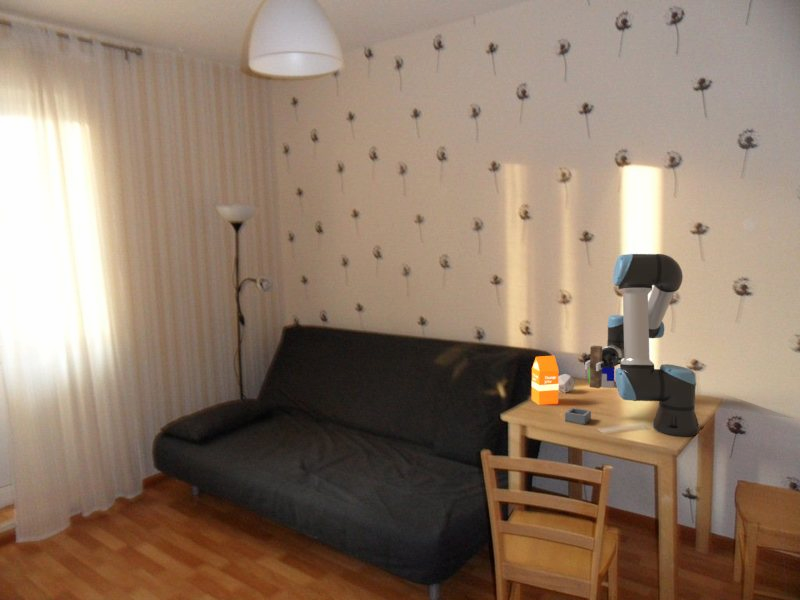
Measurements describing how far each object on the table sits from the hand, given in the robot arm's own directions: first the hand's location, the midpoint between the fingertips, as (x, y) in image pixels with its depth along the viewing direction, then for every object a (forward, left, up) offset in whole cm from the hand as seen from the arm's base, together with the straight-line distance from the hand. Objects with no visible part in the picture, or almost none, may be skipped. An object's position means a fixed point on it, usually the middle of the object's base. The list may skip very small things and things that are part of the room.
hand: (591, 366), depth 215 cm
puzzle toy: (+44, -32, -21) cm, 59 cm away
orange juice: (+26, +6, -21) cm, 35 cm away
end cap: (0, +5, -21) cm, 22 cm away
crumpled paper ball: (+38, -10, -21) cm, 45 cm away
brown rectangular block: (+4, -4, -9) cm, 11 cm away
